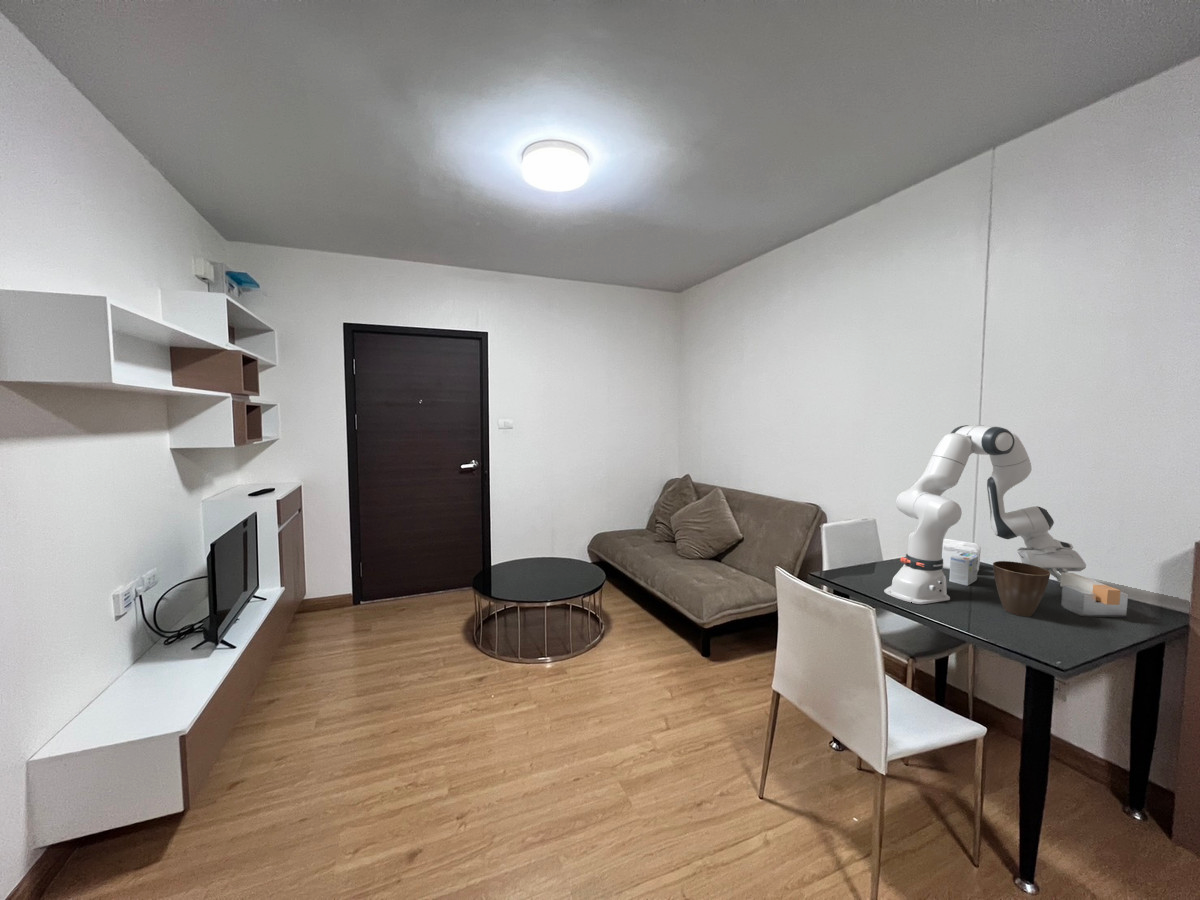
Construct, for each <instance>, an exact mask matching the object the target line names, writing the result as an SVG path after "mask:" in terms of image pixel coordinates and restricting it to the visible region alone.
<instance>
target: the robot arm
mask: <svg viewBox="0 0 1200 900" xmlns="http://www.w3.org/2000/svg"><path fill="white" fill-rule="evenodd" d="M972 454H975V455H981V456H982V455H985V456H986V455H987V456H988V455H989V459H990V461H991V464H992V473H991V474H990V476H989V477H988V479H987V482H986V486H987V487H986V489H987V497H988V504H989V505H988V506H989V511H990V519H989V520H990V528H991V530H992V532H993V533H994V534H995V536H996V537H999V538H1001V539H1004V540H1011V539H1014V538H1017V537H1021V538H1022V540H1023V542H1024V545H1025V547H1019V548H1018V549H1017V553H1018V555H1019V557H1020V561H1021V563H1025V564H1030V565H1034V566H1038V567H1041V568H1044V569H1046V570H1048V571H1049V572H1050V576H1053V577H1054V578H1056V580H1057V581H1058V582H1059V583H1060V581H1061V573H1069V572H1081V571H1083V570H1085V569H1086V568H1087V564H1086V562H1085V560H1084V559H1083V558H1082V556H1081V555H1080V554H1079V553H1078V551H1076V550H1074V545H1073V544H1072V543H1069V542H1065V541H1062V540H1058V539H1056V538H1054V537H1053V535H1051V534H1050V533H1049V531H1050V530H1051V529H1052V528H1053V525H1054V524H1055V521H1054V519H1053V518H1052V516H1051V515H1050V512H1048V510H1047V509H1045V508H1043V507H1041V506H1038V505H1035V506H1028V507H1025V508H1020V509H1017V510H1013V511H1009V512H1006V511H1005V502H1004V496H1005V494H1006V493H1007V492H1008V491H1009V490H1011V489H1012V488H1013V487H1015V486H1017V485H1018V484H1020V483H1022V482H1024V481H1025V480H1026V479H1027V478H1028V477H1029V476H1030V474H1031V472H1032V463H1031V459H1030V457H1029V455H1028V452H1027V450H1026V448H1025V446H1024V444H1023V442H1022V441H1021V440H1020V437H1018V435H1017V434H1015V433H1012V432H1011V431H1010V430H1009V429H1007V428H1004V427H1001V426H990V425H984V424H976V425H973V424H972V425H960V426H957V427H955V428H954V429H953V430H952V431H951V432H949V433H948V434H945V435H944V436H943V437H942V438H941V440H940V441H939V443H938V444H937V445H936V447H935V448H934V450H933V452H932V454H931V457H930V459H929V461H928V463H927V465H926V468H925V469H924V471H923V473H922V474H921V476H920V477H919V479H917V480H916V481H915V483H914V484H913V485H911V487H909V488H908V489H906V490H903V491H902V492H900V493H899V494H898V495H897V497H896V500H895V505H896V508H897V509H898V511H899V512H901V513H902V514H903V515H906V516H907V517H909V518H911V519H915V520H918V523H917V528H916V529H915V530H914V531H911V532H910V533H909V535H908V537H907V552H906V554H905V557H904V556H902V557H901V558H900V563H903V566H901V568H900V569H899V570H898V571H897V573H896V574H895V575H894V576H893V577H892V582H891V585H890V586H888V587H886V588H884V590H883V592H884V593H885V594H886V595H889V596H891V597H893V598H895V599H897V600H898V599H899V600H900V601H904V602H908V603H911V602H912V604H917V605H926V604H932V603H938V602H945V601H950V600H951V597H950V596H949V595H948V594H947V577H946V575H945V574H944V571H943V569H944V568H943V559H942V549H943V540H944V539H945V537H946V534H947V533H948V531H949V529H950V528H951V527H953V526H955V525H956V524H958V522H959V521H960V520H961V518H962V512H963V511H962V508H961V506H960V505H959V504H958V503H957V502H956V501H954V500H952V499H950V498H949V497H946V496H942V495H943V494H944V493H945V492H946V491H947V490H949V489H952V488H954V487H955V486H957V485H958V483H959V480H960V479H961V477H962V474H963V472H964V469H965V468H966V465H967V463H968V460H969V457H970V456H971V455H972Z"/></svg>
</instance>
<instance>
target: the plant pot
mask: <svg viewBox="0 0 1200 900" xmlns="http://www.w3.org/2000/svg"><path fill="white" fill-rule="evenodd" d="M992 567H993V568H992V569H993V575H994V581H995V586H996V590H997V593H998V596H999V600H1000V602H1001V605H1002V609H1003V610H1004V611H1005V612H1007V613H1009V614H1013V615H1015V616H1021V617H1032V616H1033V615H1034V613H1035V612H1036V610H1037V608H1038V606H1039V605H1040V603H1041V602H1042V599H1043V597H1044V595H1045V593H1046V589H1047V587H1048V583H1049V580H1050V576H1051V574H1050V572H1049V571H1048V570H1046V569H1044V568H1041V567H1038V566H1034V565H1030V564H1025V563H1022V562H1018V561H1010V560H1009V561H1008V560H1007V561H1006V560H999V561H994V562H993V563H992Z"/></svg>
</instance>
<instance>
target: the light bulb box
mask: <svg viewBox="0 0 1200 900" xmlns="http://www.w3.org/2000/svg"><path fill="white" fill-rule="evenodd" d="M977 567H978V555H973V554H968V553H963V552H959V553H957V554H955V555H953V556H951V559H950V570H949V579H948V580H949V582H951V583H955V584H958V585H962V586H969V585H970V586H971V584H973V583H974V582H976V581H977V579H978V572H977Z"/></svg>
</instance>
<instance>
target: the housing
mask: <svg viewBox="0 0 1200 900" xmlns="http://www.w3.org/2000/svg"><path fill="white" fill-rule="evenodd" d="M1128 599H1129V594H1128V593H1125V592H1122V591H1121V592H1120V603H1119V605H1106V604H1104V603H1101V602H1099V601H1097V600H1096V594H1095V593H1092V592H1090V591H1087V590H1085V589H1082V588H1080V587H1077V586H1075V585H1063V587H1062V589H1061V603H1060V606H1061V608H1063V609H1066V610H1067V611H1070V612H1072V613H1074V614H1076V615H1079V616H1081V617H1089V618H1090V617H1091V618H1092V617H1095V618H1096V617H1097V618H1098V617H1099V618H1102V617H1103V618H1106V617H1107V618H1126V617H1127V612H1128V609H1127V608H1128V601H1129V600H1128Z"/></svg>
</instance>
